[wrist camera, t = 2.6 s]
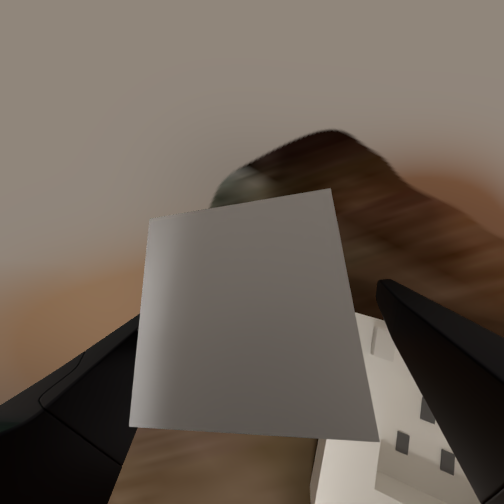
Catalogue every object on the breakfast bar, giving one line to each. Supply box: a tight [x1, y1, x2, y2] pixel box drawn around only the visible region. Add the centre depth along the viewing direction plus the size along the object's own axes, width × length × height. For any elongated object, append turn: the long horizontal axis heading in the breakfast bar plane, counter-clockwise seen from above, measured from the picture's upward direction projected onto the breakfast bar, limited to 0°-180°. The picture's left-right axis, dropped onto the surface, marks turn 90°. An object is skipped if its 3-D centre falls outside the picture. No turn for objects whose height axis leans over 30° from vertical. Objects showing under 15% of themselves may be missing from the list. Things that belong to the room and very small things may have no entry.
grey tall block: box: [129, 188, 380, 442], centre depth 10 cm, size 5×5×12 cm
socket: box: [310, 313, 481, 504], centre depth 11 cm, size 11×11×3 cm
